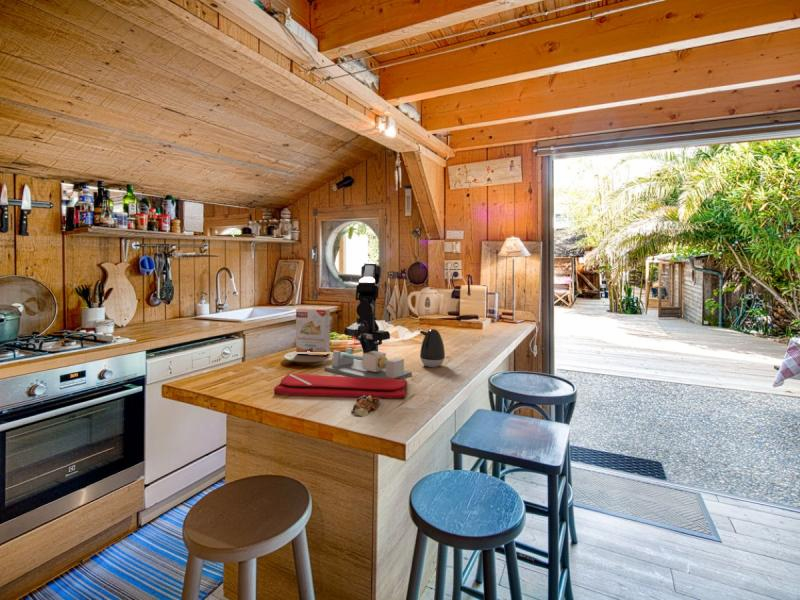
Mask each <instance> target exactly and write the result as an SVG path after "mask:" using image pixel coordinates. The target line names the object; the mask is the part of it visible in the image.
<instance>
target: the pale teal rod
mask: <svg viewBox="0 0 800 600" xmlns="http://www.w3.org/2000/svg"><path fill="white" fill-rule="evenodd" d="M340 354H344V357H347V358H352V359H354V360H357V361H362V362H363V355H362V356H361V355H357V354H354V353H353V354H348V353H346V352H345V353H343V351H340ZM386 360H389V359H388V358H387V357H386V358H385V357H382V358H381V359H380V360H378V364H379V366H380V368H383V369H385V368H386Z"/></svg>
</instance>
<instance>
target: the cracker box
mask: <svg viewBox="0 0 800 600" xmlns="http://www.w3.org/2000/svg"><path fill="white" fill-rule="evenodd" d="M295 332H296V333H295V338H296V339H295V340H296V341H295V348H296V349H295V350H296V351H295V353H296V352H307V351H310V352H331V348H330V347H331V346H330V345H331V343H330V340H331V310H330V308H315V307H299V308H296V309H295Z"/></svg>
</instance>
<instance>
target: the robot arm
mask: <svg viewBox="0 0 800 600" xmlns="http://www.w3.org/2000/svg"><path fill="white" fill-rule="evenodd" d="M360 272H361V274H360V276H361V278H360V279H359V280H358V284H356V286H355V287H356V288H355V301H359V302H358V304H357V307H356V314H357V316H358V317H356V320H355V323H354V322H353V323H352V324H351V325H349V326H346V327H345V328H344V330H343V332H344V333H343V335H345V336H348V337H354V339H355V340H357V341H358V342H359V343H360V346H361V349H362V354H363V353H367V352H371V351H378V352H379V346H381V345H383V341H384V340H390V339H391V333H390V331H387V330H382V329H380V327H379V325H378V323H377V320H378V319H377V309H376V308H377V300H378V299H379V292H380V289H379V284H380V282H381V279H382V267H381V266H379V265H377V263H376V262H364V264H363V265H362V266H361V271H360Z"/></svg>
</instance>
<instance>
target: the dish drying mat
mask: <svg viewBox="0 0 800 600" xmlns="http://www.w3.org/2000/svg"><path fill="white" fill-rule="evenodd" d="M407 384H408V383H407V380H406V379H405V380H404V379H389V378H357V377H351V376H342V375H341V376H339V375H338V376H336V375H323V374H322V375H319V374H316V375H315V374H301V373H287V374H286V375H285V376H284V377H283V378H282V379H281V380H280V383H279V384H277V385H276V386H274V389H273V393H274V395H275V394H288V395H287V396H299V395H302V396H304V397H305V396H306V397H326V396H327V398H328V397H330V398H360V397H361V396H363V395H366V396H367V397H368V396H371V397H372V398H373V397H374V398H375V397H378V399H398V400H399V399H400V400H401V399H405V394H406V393H405V392H406V387H407Z"/></svg>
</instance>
